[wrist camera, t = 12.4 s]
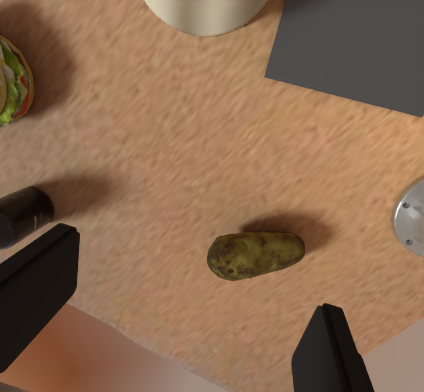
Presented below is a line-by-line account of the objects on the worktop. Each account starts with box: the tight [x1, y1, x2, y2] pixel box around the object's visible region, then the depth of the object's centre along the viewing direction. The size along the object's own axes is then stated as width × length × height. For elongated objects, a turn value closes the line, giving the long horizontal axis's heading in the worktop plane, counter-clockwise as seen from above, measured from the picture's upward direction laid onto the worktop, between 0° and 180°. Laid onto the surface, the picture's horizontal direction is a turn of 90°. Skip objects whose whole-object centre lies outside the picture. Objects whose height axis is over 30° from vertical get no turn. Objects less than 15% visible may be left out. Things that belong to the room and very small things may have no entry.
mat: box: [264, 0, 424, 117], centre depth 31 cm, size 19×19×1 cm
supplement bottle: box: [0, 188, 53, 250], centre depth 43 cm, size 7×7×12 cm
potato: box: [207, 231, 305, 281], centre depth 40 cm, size 8×13×8 cm, turn 75°
